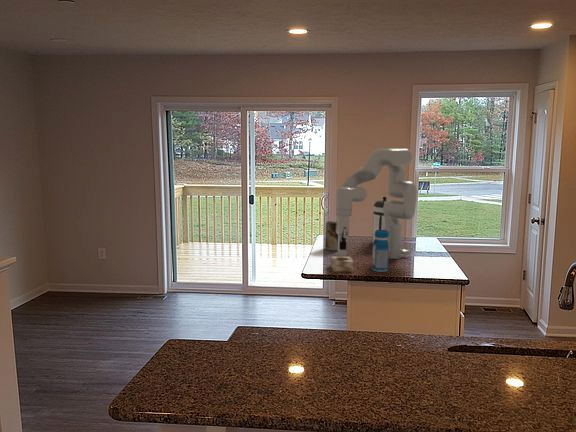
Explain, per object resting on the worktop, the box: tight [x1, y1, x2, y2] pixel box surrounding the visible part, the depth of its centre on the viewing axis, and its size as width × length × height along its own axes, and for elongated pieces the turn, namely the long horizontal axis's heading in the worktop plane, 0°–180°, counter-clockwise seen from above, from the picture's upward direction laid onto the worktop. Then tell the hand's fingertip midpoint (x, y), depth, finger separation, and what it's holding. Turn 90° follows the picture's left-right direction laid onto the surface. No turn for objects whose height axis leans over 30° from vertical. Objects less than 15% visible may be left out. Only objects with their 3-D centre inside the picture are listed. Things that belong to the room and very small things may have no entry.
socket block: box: [330, 256, 355, 272], centre depth 255 cm, size 10×10×5 cm
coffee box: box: [324, 220, 338, 252], centre depth 296 cm, size 9×6×16 cm
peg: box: [336, 234, 349, 257], centre depth 253 cm, size 4×4×12 cm
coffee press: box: [370, 196, 388, 245], centre depth 310 cm, size 17×16×30 cm
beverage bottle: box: [371, 230, 390, 273], centre depth 253 cm, size 8×8×20 cm
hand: (342, 248), depth 253 cm, fingers closed on peg, 4 cm apart
